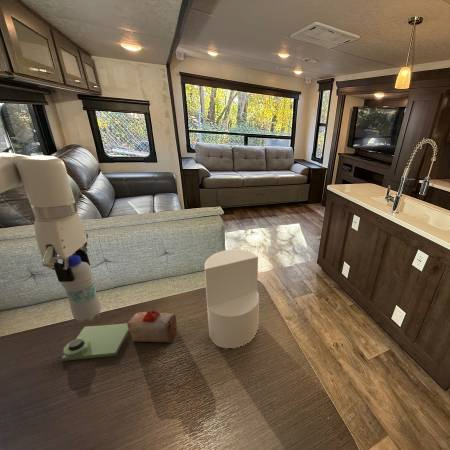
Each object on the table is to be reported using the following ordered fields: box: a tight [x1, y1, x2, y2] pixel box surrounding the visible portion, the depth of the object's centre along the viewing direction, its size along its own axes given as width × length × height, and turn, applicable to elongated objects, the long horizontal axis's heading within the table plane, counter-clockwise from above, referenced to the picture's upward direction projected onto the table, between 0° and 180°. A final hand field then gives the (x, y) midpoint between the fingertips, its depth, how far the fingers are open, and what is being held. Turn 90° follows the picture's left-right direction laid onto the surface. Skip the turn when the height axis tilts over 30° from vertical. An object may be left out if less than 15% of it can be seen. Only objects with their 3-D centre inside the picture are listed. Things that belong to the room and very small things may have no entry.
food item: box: [126, 307, 178, 344], centre depth 82 cm, size 14×8×10 cm, turn 92°
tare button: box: [69, 338, 83, 351], centre depth 74 cm, size 3×3×2 cm
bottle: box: [59, 255, 102, 323], centre depth 68 cm, size 7×7×20 cm
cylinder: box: [203, 249, 260, 349], centre depth 84 cm, size 17×17×28 cm
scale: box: [61, 322, 130, 362], centre depth 79 cm, size 14×12×3 cm
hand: (75, 272), depth 66 cm, fingers closed on bottle, 6 cm apart
